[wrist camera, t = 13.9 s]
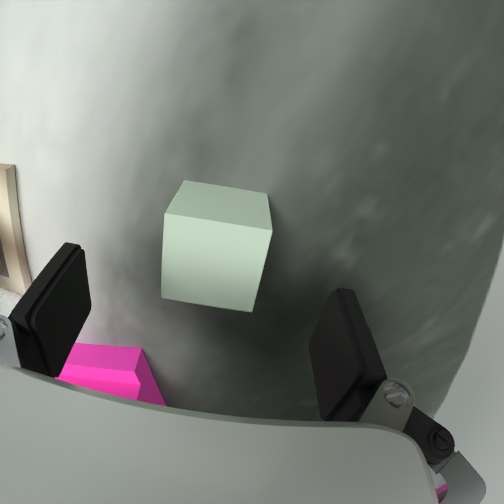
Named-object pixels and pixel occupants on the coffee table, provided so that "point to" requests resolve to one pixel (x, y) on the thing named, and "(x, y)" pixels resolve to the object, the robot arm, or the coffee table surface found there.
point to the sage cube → (215, 245)
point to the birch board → (11, 236)
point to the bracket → (112, 372)
